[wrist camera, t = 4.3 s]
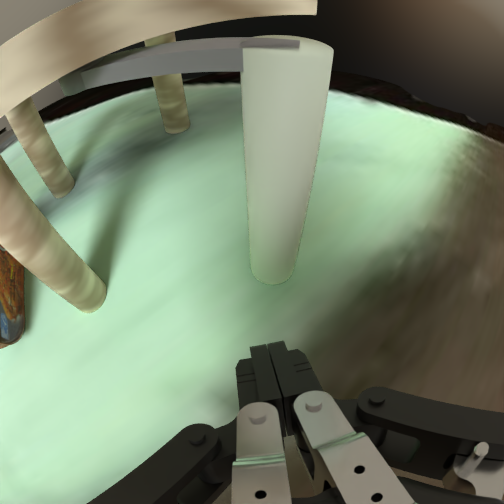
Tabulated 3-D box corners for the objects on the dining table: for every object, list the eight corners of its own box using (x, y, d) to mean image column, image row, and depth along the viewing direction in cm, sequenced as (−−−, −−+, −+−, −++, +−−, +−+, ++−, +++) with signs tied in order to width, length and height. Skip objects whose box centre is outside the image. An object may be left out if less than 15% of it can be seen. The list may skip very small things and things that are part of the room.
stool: (75, 337, 20) (-112, 171, 2) (46, 188, 30) (-17, 71, 12) (294, 205, 26) (318, -26, 8) (187, 112, 37) (167, -15, 19)
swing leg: (141, 264, 23) (42, 88, 8) (154, 231, 25) (83, 58, 10) (291, 287, 22) (337, 60, 7) (295, 249, 23) (330, 39, 9)
